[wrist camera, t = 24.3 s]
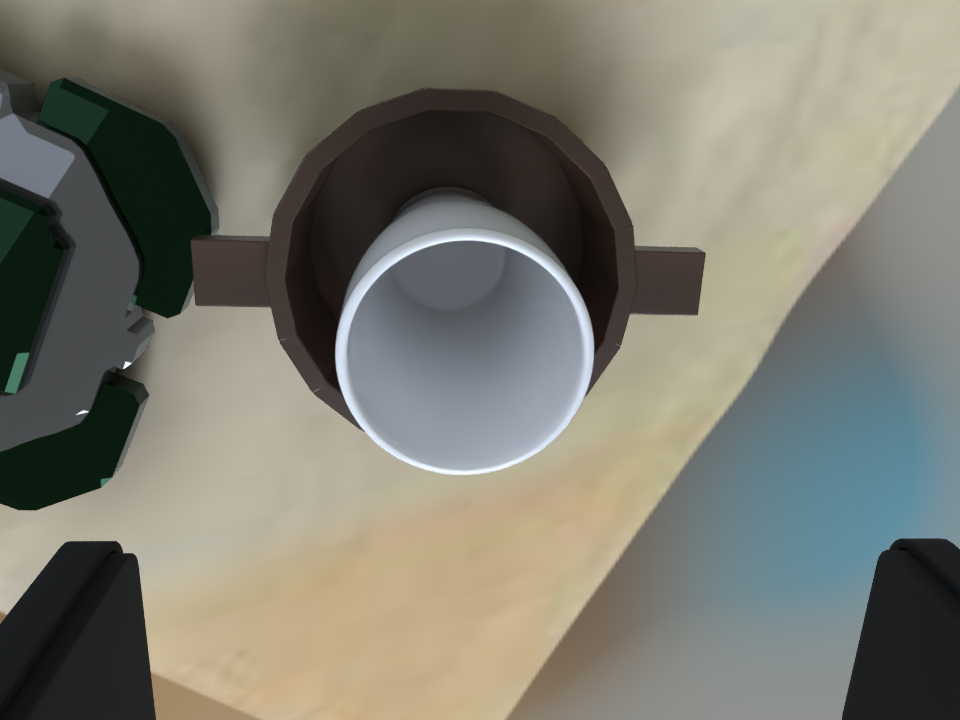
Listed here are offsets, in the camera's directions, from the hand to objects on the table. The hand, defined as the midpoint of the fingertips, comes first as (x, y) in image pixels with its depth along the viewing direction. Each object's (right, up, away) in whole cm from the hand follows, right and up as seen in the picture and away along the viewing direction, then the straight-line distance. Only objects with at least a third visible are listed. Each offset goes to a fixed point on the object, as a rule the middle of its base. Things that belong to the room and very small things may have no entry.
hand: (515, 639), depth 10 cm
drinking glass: (-2, +8, +24) cm, 26 cm away
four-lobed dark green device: (-22, +8, +24) cm, 33 cm away
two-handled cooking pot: (-2, +8, +25) cm, 26 cm away
